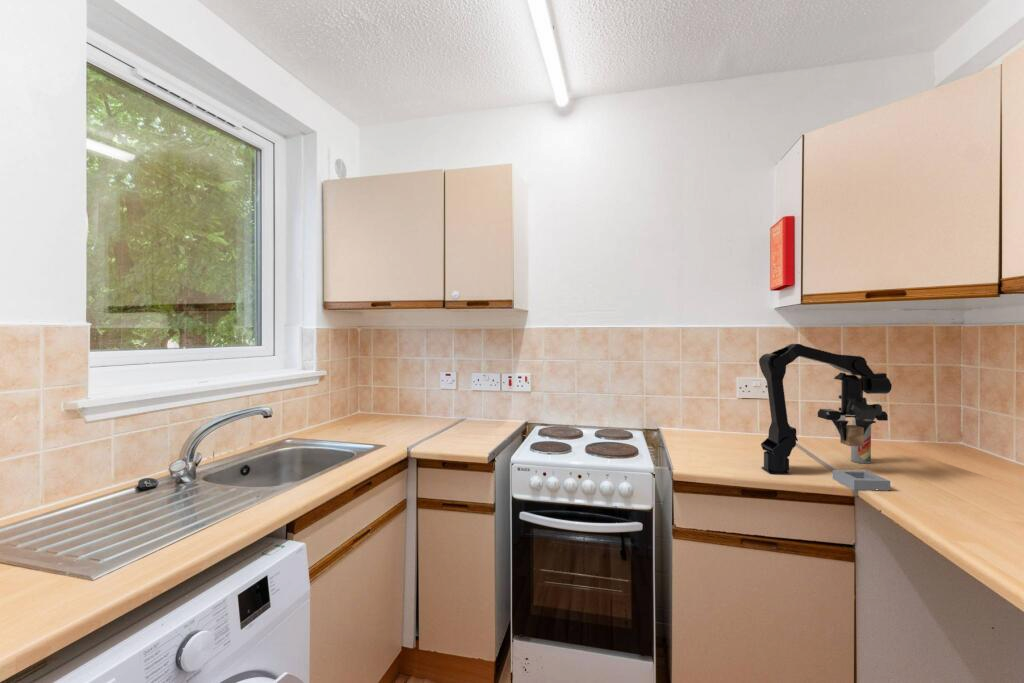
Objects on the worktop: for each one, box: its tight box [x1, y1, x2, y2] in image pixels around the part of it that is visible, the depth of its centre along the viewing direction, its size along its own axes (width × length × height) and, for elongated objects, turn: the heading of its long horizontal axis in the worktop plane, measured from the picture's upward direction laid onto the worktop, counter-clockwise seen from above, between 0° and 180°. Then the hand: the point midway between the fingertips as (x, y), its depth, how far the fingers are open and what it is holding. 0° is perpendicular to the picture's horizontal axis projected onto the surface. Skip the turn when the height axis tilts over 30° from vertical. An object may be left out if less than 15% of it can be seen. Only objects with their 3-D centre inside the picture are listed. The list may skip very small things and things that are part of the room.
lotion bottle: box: [850, 417, 872, 465], centre depth 161 cm, size 6×6×20 cm
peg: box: [839, 424, 864, 447], centre depth 148 cm, size 4×4×6 cm
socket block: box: [832, 469, 891, 492], centre depth 136 cm, size 10×10×3 cm
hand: (851, 440), depth 148 cm, fingers closed on peg, 4 cm apart
